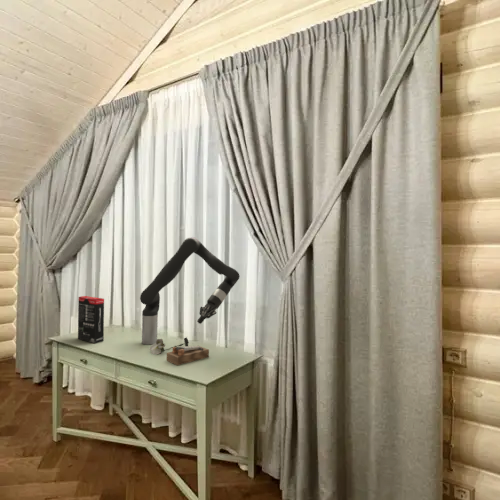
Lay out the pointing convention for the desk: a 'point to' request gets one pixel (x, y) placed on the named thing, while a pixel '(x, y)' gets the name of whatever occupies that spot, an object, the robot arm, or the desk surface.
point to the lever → (188, 348)
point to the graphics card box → (91, 319)
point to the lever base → (186, 355)
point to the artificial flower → (162, 346)
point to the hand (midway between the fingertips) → (198, 322)
